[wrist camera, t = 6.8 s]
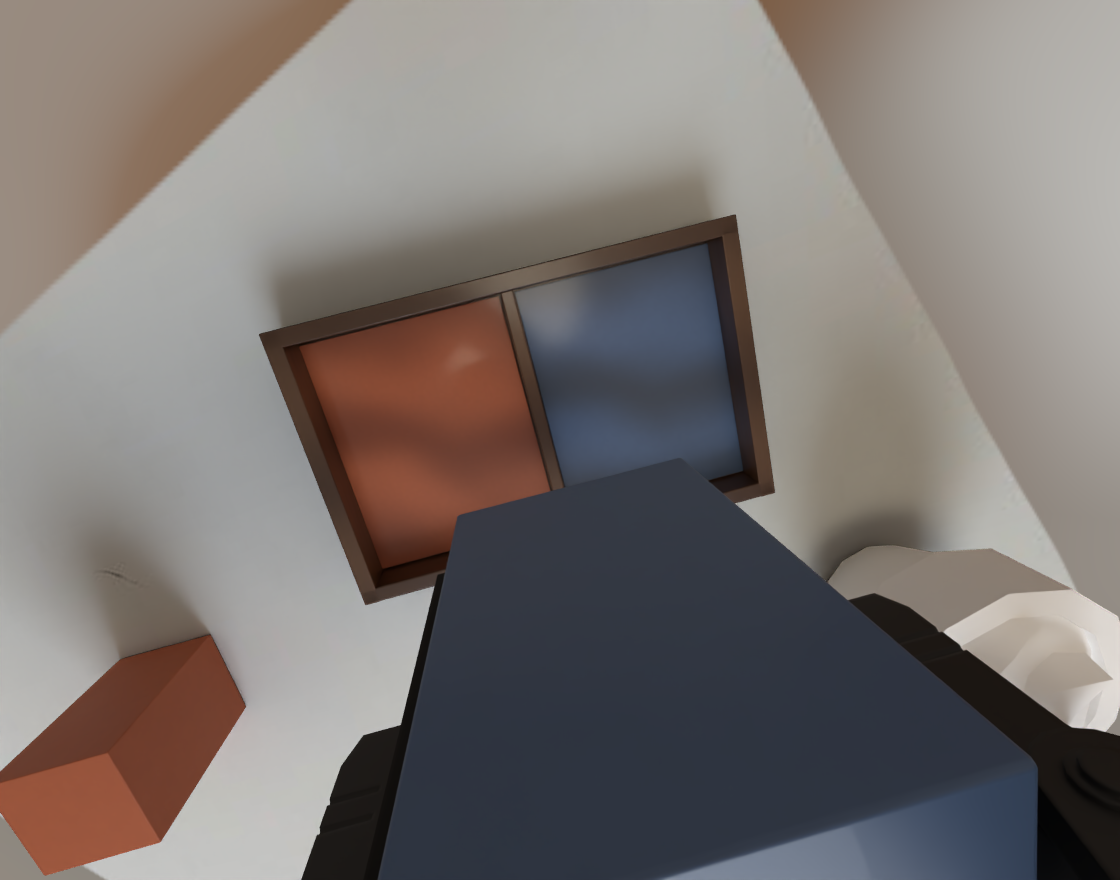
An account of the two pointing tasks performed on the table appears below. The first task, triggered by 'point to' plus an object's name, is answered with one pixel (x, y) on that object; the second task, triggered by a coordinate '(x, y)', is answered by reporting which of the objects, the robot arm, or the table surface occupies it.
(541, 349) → the tray
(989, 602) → the potted plant
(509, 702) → the blue bar
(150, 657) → the terracotta bar
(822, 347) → the table surface
